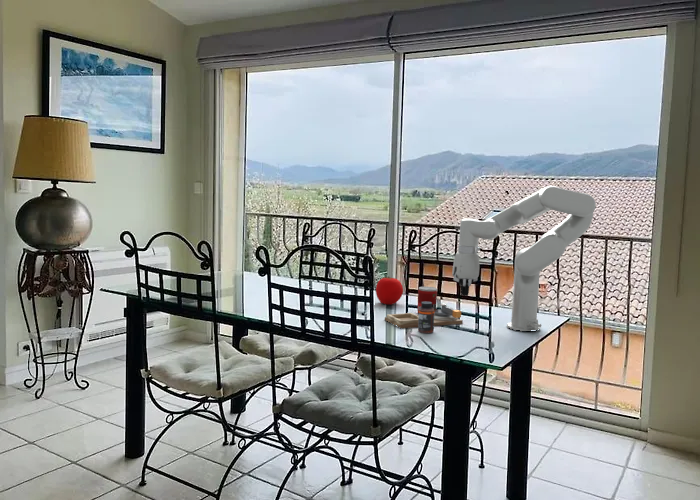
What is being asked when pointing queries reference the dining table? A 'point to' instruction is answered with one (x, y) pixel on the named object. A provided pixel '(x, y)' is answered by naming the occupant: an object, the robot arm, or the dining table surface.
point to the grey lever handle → (447, 311)
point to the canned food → (427, 296)
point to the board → (412, 320)
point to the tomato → (389, 290)
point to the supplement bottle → (426, 318)
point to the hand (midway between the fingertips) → (464, 295)
